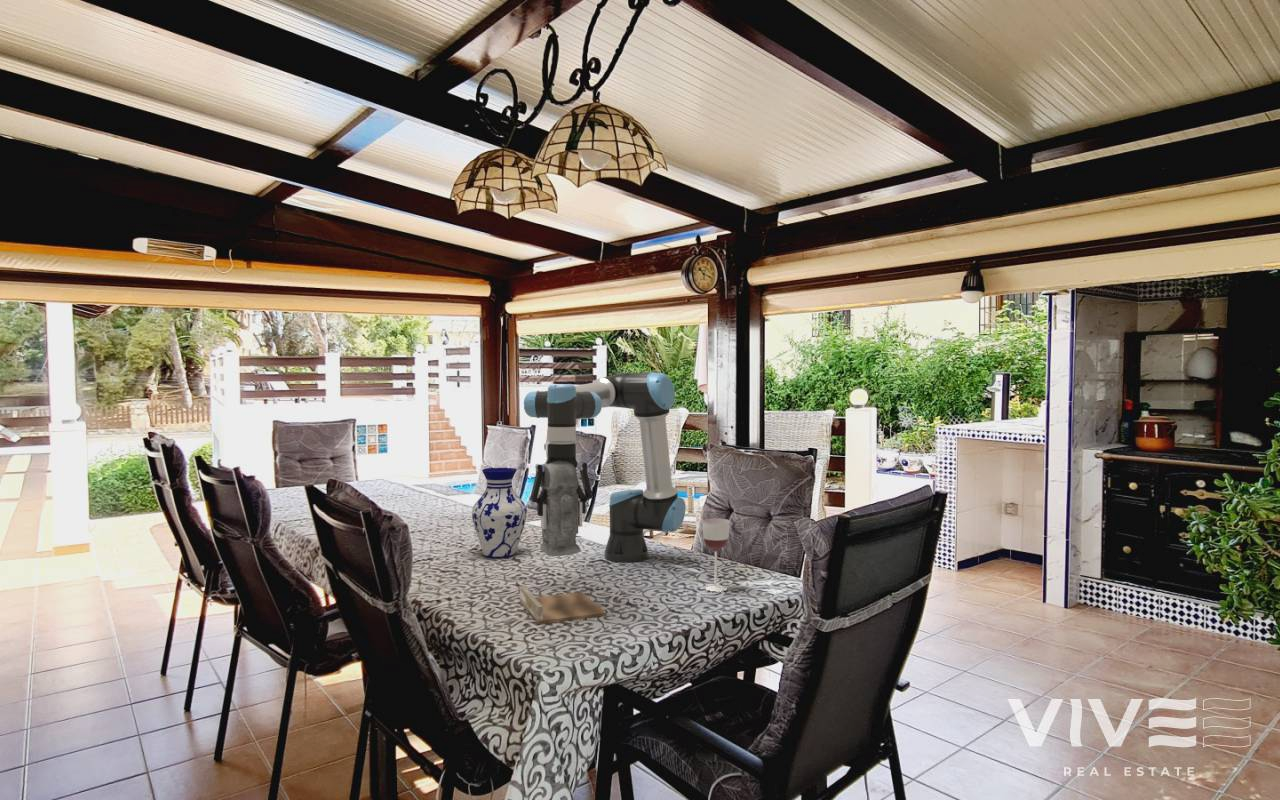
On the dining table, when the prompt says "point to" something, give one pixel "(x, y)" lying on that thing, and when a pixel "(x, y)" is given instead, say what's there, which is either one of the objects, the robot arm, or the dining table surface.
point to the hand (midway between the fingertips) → (561, 526)
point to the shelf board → (559, 607)
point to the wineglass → (715, 541)
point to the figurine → (560, 509)
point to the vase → (499, 514)
